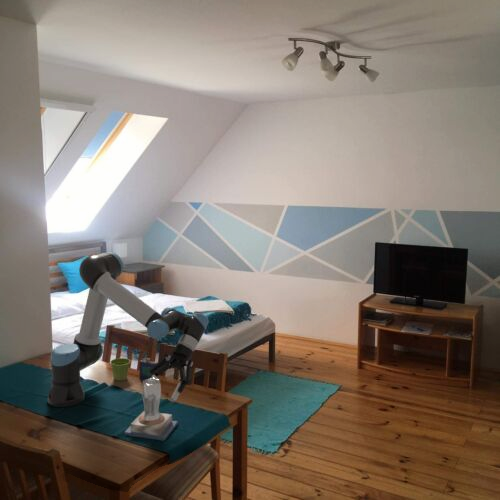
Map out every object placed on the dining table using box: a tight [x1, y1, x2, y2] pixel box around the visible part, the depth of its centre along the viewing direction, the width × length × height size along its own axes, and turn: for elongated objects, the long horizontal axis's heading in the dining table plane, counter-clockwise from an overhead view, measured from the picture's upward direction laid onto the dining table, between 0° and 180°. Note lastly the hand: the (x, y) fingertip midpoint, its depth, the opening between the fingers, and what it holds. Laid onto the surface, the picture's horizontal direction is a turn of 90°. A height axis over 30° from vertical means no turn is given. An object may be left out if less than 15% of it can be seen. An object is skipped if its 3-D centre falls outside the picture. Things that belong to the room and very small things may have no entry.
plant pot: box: [109, 357, 131, 382], centre depth 260 cm, size 9×9×9 cm
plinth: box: [130, 410, 173, 436], centre depth 210 cm, size 12×12×3 cm
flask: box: [139, 357, 159, 381], centre depth 260 cm, size 9×3×11 cm, turn 74°
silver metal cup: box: [142, 378, 162, 422], centre depth 209 cm, size 7×7×15 cm
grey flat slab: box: [124, 420, 179, 442], centre depth 211 cm, size 16×14×1 cm
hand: (160, 395), depth 212 cm, fingers open, 13 cm apart
